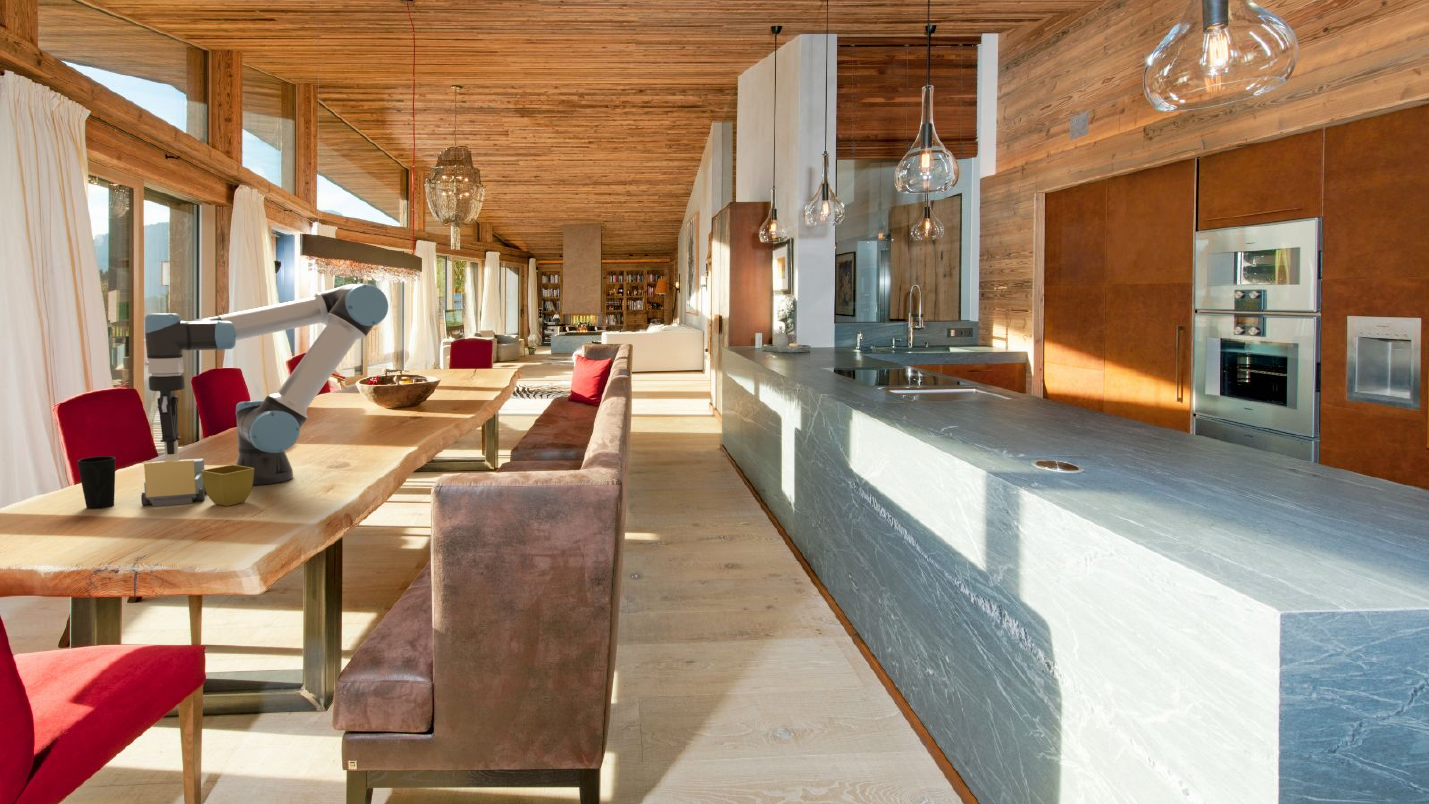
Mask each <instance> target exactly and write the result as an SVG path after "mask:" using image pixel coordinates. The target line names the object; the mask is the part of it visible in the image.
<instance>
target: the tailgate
mask: <svg viewBox="0 0 1429 804" xmlns="http://www.w3.org/2000/svg"><path fill="white" fill-rule="evenodd" d="M180 460H181V461H166V460H164V461H165V462H154V461H152V462H144V463H143V467H144V468H143V469H144V479H145V480H144V483H146V496H147V499H160V498H173V497H186V496H196V487H195V472H194V460H187V459H180ZM196 497H197V496H196Z"/></svg>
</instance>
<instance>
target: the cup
mask: <svg viewBox="0 0 1429 804" xmlns="http://www.w3.org/2000/svg"><path fill="white" fill-rule="evenodd" d="M116 460H117V459H116V457H115V456H111V455H109V456H108V455H107V456H106V455H105V456H104V455H103V456H92V457H91V456H89V457H86V458H81V459H78V460H77V461H76V462H77V467H78V473H79V477H80V483H81V487H82V488H81V489H82V492H83V495H84V496H83V497H84V502H85V506H86V509H88V510H99V509H107V508H110V507H113V506H115V493H116V492H115V491H116V490H115V489H116Z"/></svg>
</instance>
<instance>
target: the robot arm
mask: <svg viewBox="0 0 1429 804" xmlns="http://www.w3.org/2000/svg"><path fill="white" fill-rule="evenodd" d="M388 311H389V303H388V299H387V297H386V295H385V292H383V291H382V290H381V289H380V288H378V287H377V286H375V285H373V284H369V283H366V282H365V283H364V282H362V283H349V284H344V285H341V286H338V287H334V288H332V289H329V290H324V291H320V292H315V294H314V296H313V297H307V298H302V299H298V300H292V301H287V302H282V303H276V304H272V305H267V306H262V307H257V308H252V309H247V310H246V309H245V310H242V311H235V312H231V313H227V314H225V313H224V314H221V315H216V316H211V317H204V318H195V319H193V320H190V321H188V320H187V321H186V320H182V319H181V316H180V315H179V314H178V313H160V312H159V313H158V312H157V313H155V312H154V313H148V314H146V315H145V317H144V337H145V338H144V339H145V347H146V348H145V349H146V357H147V361H145V363H144V365H145V366H147V371H148V373H147V374H149V376H148V389H149V391H152V392H159V397H158V398H157V408H158V412H159V414H158V415H159V422H160V428H161V429H160V430H161V436H162V437H161V438H160V443H163V444H164V458H165V460H164V461H179V460H180V454H179V441H180V440H181V439H182V436H179V435H180V433H179V415H178V413H179V410H178V409H179V408H178V407H179V406H178V405H179V396H176V391H181V390H184V389H185V386H186V385H185V376H184V375H183V373H184V372H185V370H184V368H185V367H184V357H183V351H217V350H218V351H222V350H232V349H234V348H235V346H236V341H240V340H245V339H249V338H253V337H259V336H264V335H268V334H273V333H278V332H282V331H283V332H284V331H288V330H292V329H296V328H297V329H298V328H302V327H307V326H310V325H311V326H312V325H316V324H320V323H321V324H323V325H325V327H324V328H323V330H322V331H321V332H320V334H319V335H318V337H317V338H316V339H315V341H314V342H313V344H312V345H311V346H310V348H309V349H308V350H307V352H306V353H305V354H304V356H303V357H302V359H301V360H300V361H299V363H298V364H297V365H296V366H295V368H294V369H293V371H292V372H291V374H289V376H288V377H287V379H286V381H285V382H284V383H283V384H282V386H281V387H280V388H279V389H278V391H277V392H276V393H271V394H267V396H266V397H265V399H264V400H250V401H249V400H248V401H240V402H238V403H237V404H236V407H235V416H236V427H237V428H236V429H237V446H238V458H237V460H236V463H235V465H238V466H245V467H251V468H254V477H253V486H262V485H272V484H273V485H274V484H277V483H282V482H287V481H290V480H292V479H293V478H294V472H293V471H294V470H293V467H292V466H291V462H290V461H289V458H288V456H287V454H286V451H288V450H289V449H290V448H292V447H293V446H294V445H295V444H296V443H297V441H298V440H299V437H300V434H301V431H300V429H301V428H302V427H303V426H304V423H305V422H306V421H307V420H308V418H309V417H308V413H307V412H308V411H307V409H309V407H310V405H311V403H313V401H314V400H315V398H316V397H317V396H318V394H319V393H320V392H321V390H322V388H324V386H325V384H326V383H327V381H328V380H329V379H330V378H331V376H332V375H333V374H334V372H335V371H336V369H337V367H338V366H339V365H340V363H341V362H342V361H343V359H344V358H345V356H346V355H347V354H348V353H349V351H350V349H352V347H353V346H354V345H355V343H356V342H357V340H360V339H361V340H362V339H364V338H366V337H367V336H368V335H369V333H370V332H371V330H372V329H373V328H374V326H376V325H378V324H380V323H381V322H382V321H384V319H385V318H386V317H387V315H388Z"/></svg>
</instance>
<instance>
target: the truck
mask: <svg viewBox="0 0 1429 804" xmlns="http://www.w3.org/2000/svg"><path fill="white" fill-rule="evenodd" d="M181 460H182V459H179V461H181ZM186 460H194V472H195V487H196V496H186V497H173V498H160V499H147V496H146V483H145V482H143V485H144V486H143V488H144V492H141V495H140V496H141V506H149V505H151V501H152V507H163V506H175V505H187V504H193V502H194V501H195V500H196V501H198V502H200V501H205V497H206V496H205V494H207V493H206V491H205V488H204V483H203V478H202V473H201V471H202V470H205V459H204V458H191V459H190V458H189V459H188V458H186ZM165 461H166V460H157V461H153V462H165Z"/></svg>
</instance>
